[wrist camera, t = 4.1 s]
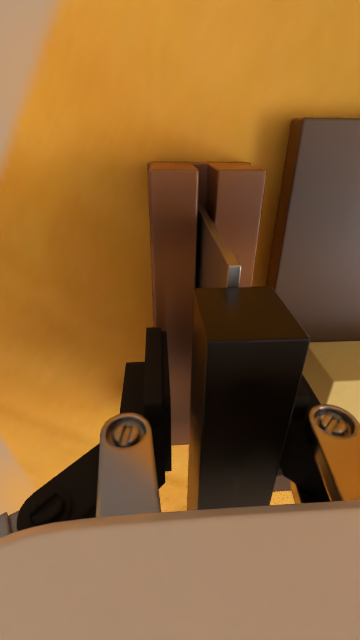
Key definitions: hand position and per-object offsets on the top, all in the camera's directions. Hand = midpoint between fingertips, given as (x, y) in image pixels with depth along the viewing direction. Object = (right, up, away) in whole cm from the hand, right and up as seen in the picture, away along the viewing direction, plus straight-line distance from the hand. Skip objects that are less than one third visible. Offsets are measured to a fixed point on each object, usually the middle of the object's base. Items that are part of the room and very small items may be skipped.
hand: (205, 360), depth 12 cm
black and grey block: (0, +2, +3) cm, 4 cm away
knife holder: (0, +2, +4) cm, 4 cm away
